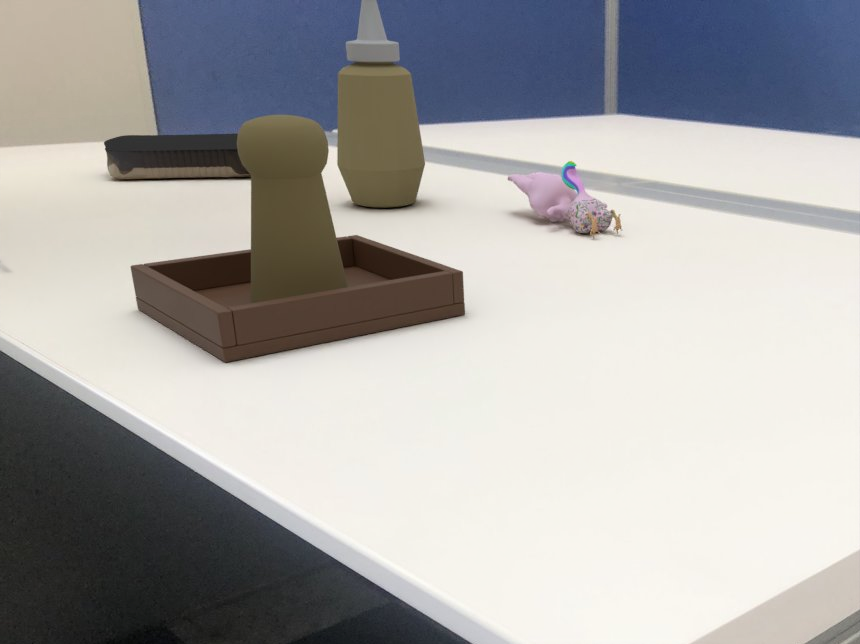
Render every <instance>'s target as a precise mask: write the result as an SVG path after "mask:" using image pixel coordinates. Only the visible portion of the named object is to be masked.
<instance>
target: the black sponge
mask: <svg viewBox="0 0 860 644" xmlns="http://www.w3.org/2000/svg"><path fill="white" fill-rule="evenodd" d="M237 136H238V133H204V134H203V133H202V134H201V133H199V134H143V135H142V134H127V135H119V136H115V137H112V138H108V139H106V140H105V141H104V142H103V145H104V147H105V148H104V150H105V153H106V168H107V172H108V174H109V175H110V176H111V177H112V178H115V179H117V180H143V179H149V180H151V179H188V178H193V179H194V178H195V179H196V178H235V177H236V178H244V177H246V178H247V177H250V178H251V174H250V173H249V172H248V171H247V170H246V168H245V167H244V166H243V165H242V162H241V160H240V157H239V155H238V149H237Z"/></svg>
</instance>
